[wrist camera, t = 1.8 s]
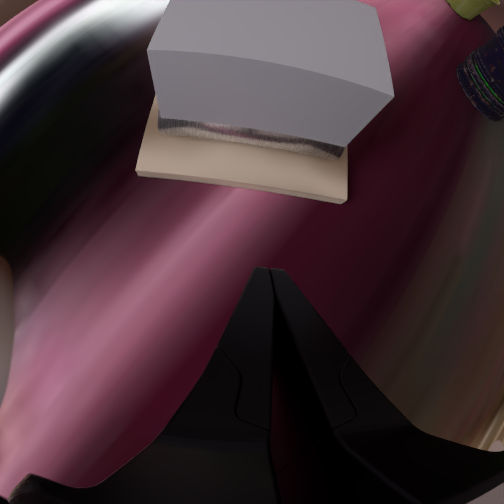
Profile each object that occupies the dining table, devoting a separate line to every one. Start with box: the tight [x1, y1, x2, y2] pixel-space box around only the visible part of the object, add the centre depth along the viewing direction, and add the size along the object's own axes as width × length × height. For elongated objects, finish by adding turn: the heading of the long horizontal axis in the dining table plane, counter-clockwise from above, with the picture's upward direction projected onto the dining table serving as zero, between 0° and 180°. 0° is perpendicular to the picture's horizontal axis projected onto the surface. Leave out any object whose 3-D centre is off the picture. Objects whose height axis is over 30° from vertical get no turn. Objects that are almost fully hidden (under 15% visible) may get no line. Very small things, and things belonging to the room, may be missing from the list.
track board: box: [135, 95, 348, 204], centre depth 24 cm, size 21×16×1 cm
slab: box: [147, 0, 394, 147], centre depth 16 cm, size 8×12×6 cm, turn 84°
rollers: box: [158, 110, 345, 160], centre depth 22 cm, size 17×13×4 cm
